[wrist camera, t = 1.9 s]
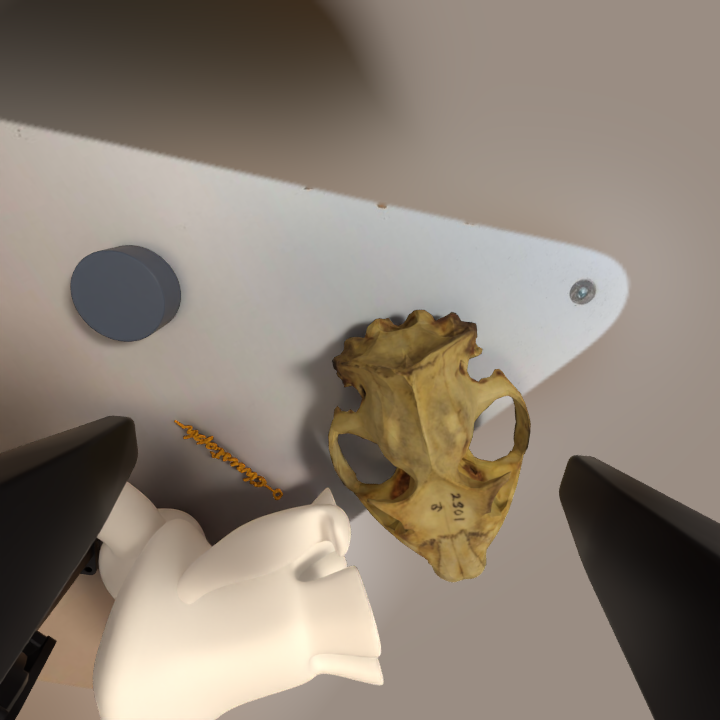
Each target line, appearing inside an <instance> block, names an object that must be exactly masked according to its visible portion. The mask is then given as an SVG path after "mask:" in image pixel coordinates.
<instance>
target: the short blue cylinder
mask: <svg viewBox="0 0 720 720" xmlns="http://www.w3.org/2000/svg"><path fill="white" fill-rule="evenodd" d="M71 295H72V299H73V302H74V305H75V307H76V309H77V311H78V313H79V314H80V316H81V317H82V318H83V320H84V321H85V322H86V323H87V324H88V325H89V326H90V327H91V328H93V329H94V330H95V331H97V332H98V333H100V334H101V335H103V336H106V337H108V338H111V339H114V340H118V341H137V340H141V339H144V338H146V337H148V336H149V335H151V334H152V333H154V332H155V331H157V330H158V329H160V328H161V327H163V326H164V325H166V324H167V323H169V322H170V321H171V320H172V319H173V318H174V316H175V315H176V313H177V311H178V309H179V306H180V300H181V291H180V285H179V282H178V279H177V277H176V275H175V273H174V271H173V270H172V268H171V267H170V266H169V265H168V263H167V262H166V261H165V260H164V259H162V258H161V257H160V256H159V255H157V254H156V253H154V252H152V251H150V250H148V249H146V248H143V247H139V246H132V245H125V246H119V247H115V248H110V249H106V250H102V251H97V252H94V253H92V254H90V255H88V256H86V257H85V258H83V259H82V260H81V261H80V262H79V263H78V265H77V266H76V268H75V270H74V272H73V275H72V278H71Z"/></svg>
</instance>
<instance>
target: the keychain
mask: <svg viewBox="0 0 720 720" xmlns="http://www.w3.org/2000/svg"><path fill="white" fill-rule="evenodd" d="M174 422H175V423H177V424H178V425H179V426H180V427H182V428H183V429H185V428H188V430H187V434H190V435H186V436H184V437H183V439H189V438H193V437H194V440H196V441H199V442H197V443H196V444H206V445H205V447H206V448H207V449H210V450H219V452H218V453H216V454H215V453H214V452H213V451H210V453H211V454H212V458H217V459H220V457H219V456H221V455H223V459H222V460H223V462H225V461H233V462H231V463H230V466H236V465H239V466H237V467H236V469H237V470H238V471H239V472H241V473H243V472H246V471H247V473H246V475H247V476H248V477H246V478H243V481H245V482H246V481H249V480H250V484H253V485H254V487H262V486H265V487H266V488H268V489H269V490H271V491H272V492H273V497H274V499H275V500H279V499H281V497H282V496H283V493H282V491H281V489H276V490H273V489H272V488H271V487H270V486H268V485H266V484H267V482H266V480H265V478H264V477H262V476H257V473H256V472H251V468H245V464H243V463H241V462H239V463H238V459H237V458H234V457H233V458H231V457H232V456H231V454H230V453H228V452H224V449H223V448H220V447H218V445H217V444H216V443H214V442H210V441H211V440H213V436H210V437H208V438H206V436H204V435H202V434H198V432H199V431H198V430H192V426H190V425H187V426H184V425H183V424H181V423H180V422H178V421H176V420H175V421H174ZM199 438H206V439H199ZM211 446H213V447H211ZM227 457H228V458H227ZM249 476H250V477H249ZM255 478H259V480H260V481H261V482H254V481H253V479H255ZM278 492H279V493H280V495H279V496H275V494H276V493H278Z"/></svg>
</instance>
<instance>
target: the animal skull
mask: <svg viewBox="0 0 720 720" xmlns="http://www.w3.org/2000/svg"><path fill="white" fill-rule="evenodd" d="M476 338H477V326H476V323H472V322H464V321H461V320H460V318H459V316H458V315H457V314H456V313H453V312H451V313H450V314H448V315H447V316H444V317H442V318H440V319H438V320H435V319H434V318H433V316H432V315H431V314H429V313H428V312H426V311H425V310H415V311H413V312H412V313H411V314H409V315H408V317H407V319H406V321H405V322H404V323H403V324H401V325H399V326H397V325H394V324H393V323H392V322H391V320H390V319H389V318H386V319H380V318H379V319H375V320H374V321H373V322H372V323H371V324H370V325H369V326H368V327H367V330H366V334H365V337H364V338H361V337H350V338H348V339H346V341H345V342H344V350H343V352H342V353H341V354H340V355H338V356H336V357H334V358H333V360H332V362H333V367H334V369H335V370H336V371H337V373H336V374H337V376H338V377H339V378H340V379H341V380H342V381H343V384H344V387H348V386H353V387H354V388H355V389H357V390H358V392H359V394H360V395H361V397H362V401H361V405H360V408H359V409H358V410H357V411H356V413H355V412H354V411H352V410H351V409H350V410H349V411H347V412H346V411H341V409H340V408H339V407H338V406H337V407H336V408H335V409H334V419H333V420H332V423H331V427H330V431H329V434H328V439H329V452H330V456H331V460H332V463H333V466H334V469H335V471H336V473H337V475H338V476H339V478H340V480H341V481H342V483H343V484H344V485H345V486H346V487H347V488H348V489H349V490H351V491H352V492H354V493H355V495H356V496H357V497H358V498H359V500H360V501H361V502H362V503H363V505H364V506H365V507H366V508H367V510H368V511H369V512H370V513H371V515H372V516H373V517H374V518H375V519H376V520H377V521H378V522H379V523H380V524H381V525H382V526H383V527H384V528H385V529H387V530H388V531H389V532H390V533H391V534H392V535H394V536H395V537H396V538H397V539H398V540H399V541H400V542H402V543H403V544H404V545H406V546H407V547H409V548H410V549H412V550H413V551H415V552H416V553H418V554H419V555H421V556H422V557H424V558H425V559H427V560H428V563H429V564H430V565H432V567H433V569H434V571H435V573H436V574H437V575H438V576H439V577H440V578H442V579H444V580H446V581H449V582H457V581H460V580H463V579H472V578H475V577H477V576H479V575H480V574H481V573H482V572H483V570H484V568H485V566H486V550H487V548H488V547H489V545H490V544H491V542H492V541H493V539H494V538H495V536H496V535H497V533H498V531H499V529H500V527H501V526H502V524H503V521H504V519H505V517H506V515H507V513H508V511H509V508H510V505H511V502H512V498H513V495H514V492H515V489H516V486H517V482H518V478H519V474H520V469H521V464H522V460H523V455H524V454H525V452H526V450H527V448H528V443H529V437H530V427H531V426H530V425H531V423H530V418H529V414H528V411H527V407H526V404H525V402H524V400H523V398H522V396H521V394H520V392H519V391H518V390H517V389H516V388H515V387H514V386H513V384H512V383H511V382H510V381H509V380H508V379H507V378H506V376H505V375H504V373H503V372H502V371H501V370H500V369H495V370H494V372H493V374H492V375H491V376H490V377H488V378H482V379H481V380H480V381H479V382H478V381H476V380H474V379H472V378H470V376H469V374H468V372H467V366H468V361H469V359H470V358H473V357H476V356H478V355H480V354H481V353H482V350H483V349H482V348H480V347H478V346H477V345H476ZM503 396H510V397H512V398H513V401H514V405H515V419H516V424H515V431H514V444H515V445H514V447H513V449H512V451H510V452H509V454H508V455H507V456H504V457H502V458H500V459H497V460H495V461H486V460H481V459H478V458H476V457H474V456H473V455H472V453H471V451H470V450H469V446H470V443H471V440H472V437H473V430H474V422H475V421H476V419H477V418H478V416H479V415H480V414H481V413H482V412H483V411H484V410H486V409H487V408H488V407H489V406H490V405H491V404H492V403H493V402H494V401H495V400H496V399H498V398H501V397H503ZM346 433H350V434H354V435H357V436H359V437H361V438H363V439H368V440H370V441H372V442H374V443H376V444H378V446H379V448H380V449H381V451H382V453H383V455H384V456H385V457H386V458H387V459H388V460H389V461H390V462H391V463H392V464H393V465H394V466H396V467H397V468H396V471H395V473H394V475H393V476H392V477H391V478H390V479H389V480H387V481H385V482H384V483H382V484H367V483H362V482H360V481H358V479H357V478H356V473H355V472H354V471H353V470H352V469H351V467H350V466H349V464H348V463H347V461H346V460H345V458H344V456H343V454H342V452H341V449H340V447H339V444H338V435H339V434H346Z"/></svg>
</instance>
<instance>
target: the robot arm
mask: <svg viewBox="0 0 720 720" xmlns="http://www.w3.org/2000/svg"><path fill="white" fill-rule="evenodd" d="M137 458H138V448H137V439H136V431H135V424H134V421H133V420H132V419H131V418H129V417H121V416H108V417H105V418H102V419H99V420H96V421H93V422H90V423H87V424H84V425H82V426H79V427H76V428H73V429H70V430H67V431H64V432H61V433H58V434H55V435H52V436H49V437H47V438H44V439H41V440H38V441H35V442H32V443H29V444H26V445H23V446H20V447H17V448H14V449H12V450H9V451H6V452H3V453H0V720H15V719H16V717H17V715H18V714H19V712H20V710H21V708H22V706H23V704H24V702H25V700H26V699H27V697H28V695H29V693H30V691H31V689H32V687H33V685H34V684H35V682H36V680H37V678H38V676H39V674H40V672H41V670H42V668H43V667H44V665H45V663H46V661H47V659H48V657H49V655H50V653H51V651H52V649H53V648H54V646H55V644H56V642H57V641H56V640H54V639H53V638H52V637H50V636H47V637H46V636H45V635H43V634H42V633H40V632H39V631H38V629H39V628H40V627H41V625H42V624H43V623H44V621H45V620H46V619H47V617H48V616H49V615H50V613H51V612H52V611H53V609H54V608H55V607H56V605H57V604H58V603H59V601H60V600H61V599H62V597H63V596H64V595H65V593H66V592H67V591H68V589H69V588H70V587H71V585H72V584H73V583H74V581H75V580H76V578H77V577H78V576H79V574H86V575H93V574H95V573H96V571H97V570H98V569H99V549H98V538H97V536H98V534H99V533H100V531H101V530H102V528H103V526H104V524H105V522H106V521H107V519H108V517H109V515H110V513H111V511H112V509H113V507H114V505H115V503H116V501H117V499H118V498H119V496H120V494H121V492H122V490H123V488H124V486H125V484H126V482H127V480H128V478H129V476H130V474H131V472H132V470H133V468H134V467H135V464H136V462H137ZM559 496H560V501H561V503H562V506H563V510H564V512H565V515H566V518H567V521H568V524H569V527H570V530H571V533H572V535H573V538H574V541H575V544H576V547H577V550H578V553H579V556H580V558H581V561H582V563H583V566H584V568H585V570H586V573H587V575H588V578H589V580H590V582H591V584H592V586H593V589H594V591H595V593H596V595H597V597H598V599H599V602H600V604H601V606H602V608H603V610H604V612H605V614H606V617H607V619H608V621H609V623H610V625H611V627H612V629H613V632H614V633H615V636H616V638H617V640H618V642H619V644H620V647H621V649H622V651H623V653H624V655H625V657H626V660H627V662H628V664H629V666H630V668H631V670H632V672H633V675H634V677H635V679H636V681H637V683H638V685H639V688H640V690H641V692H642V694H643V696H644V698H645V700H646V703H647V705H648V707H649V709H650V711H651V713H652V716H653V718H654V719H655V720H720V523H718V522H716V521H714V520H712V519H710V518H708V517H706V516H704V515H702V514H700V513H699V512H697V511H695V510H693V509H691V508H689V507H687V506H685V505H683V504H682V503H680V502H678V501H676V500H674V499H672V498H670V497H668V496H666V495H665V494H663V493H661V492H659V491H657V490H655V489H653V488H651V487H649V486H647V485H646V484H644V483H642V482H640V481H638V480H636V479H634V478H632V477H630V476H629V475H627V474H625V473H623V472H621V471H619V470H617V469H615V468H613V467H612V466H610V465H608V464H606V463H604V462H602V461H600V460H598V459H596V458H594V457H591V456H578V455H574V456H572V457H571V458H570V459H569V461H568V463H567V466H566V469H565V473H564V475H563V478H562V481H561V485H560V489H559Z"/></svg>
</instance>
